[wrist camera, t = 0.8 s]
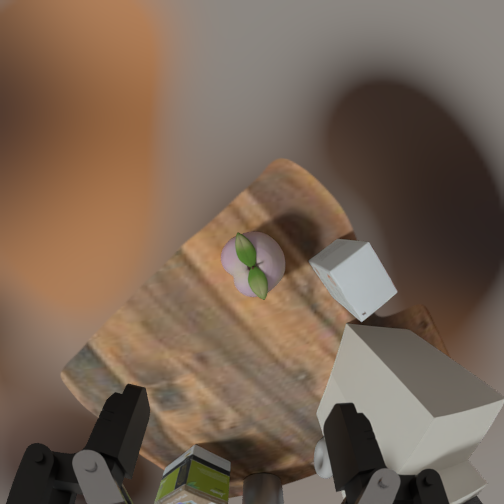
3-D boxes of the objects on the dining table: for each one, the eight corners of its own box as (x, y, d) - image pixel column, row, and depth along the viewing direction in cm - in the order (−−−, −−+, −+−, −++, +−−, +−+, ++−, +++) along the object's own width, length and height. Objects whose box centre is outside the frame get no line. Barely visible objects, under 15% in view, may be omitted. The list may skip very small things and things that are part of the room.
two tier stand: (316, 413, 46) (360, 555, 12) (346, 323, 44) (467, 454, 10) (375, 412, 46) (444, 525, 12) (408, 329, 44) (533, 418, 10)
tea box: (198, 483, 48) (190, 525, 33) (165, 466, 48) (150, 507, 33) (232, 461, 47) (228, 509, 32) (195, 442, 47) (182, 490, 32)
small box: (362, 276, 43) (399, 292, 30) (333, 298, 44) (361, 324, 31) (337, 237, 43) (369, 240, 30) (306, 260, 43) (328, 272, 30)
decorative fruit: (291, 269, 43) (302, 281, 33) (248, 296, 44) (246, 315, 34) (261, 219, 43) (263, 216, 33) (217, 246, 43) (206, 251, 33)
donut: (324, 456, 47) (332, 485, 37) (309, 457, 47) (316, 487, 37) (334, 427, 46) (346, 457, 36) (319, 428, 46) (329, 459, 36)
